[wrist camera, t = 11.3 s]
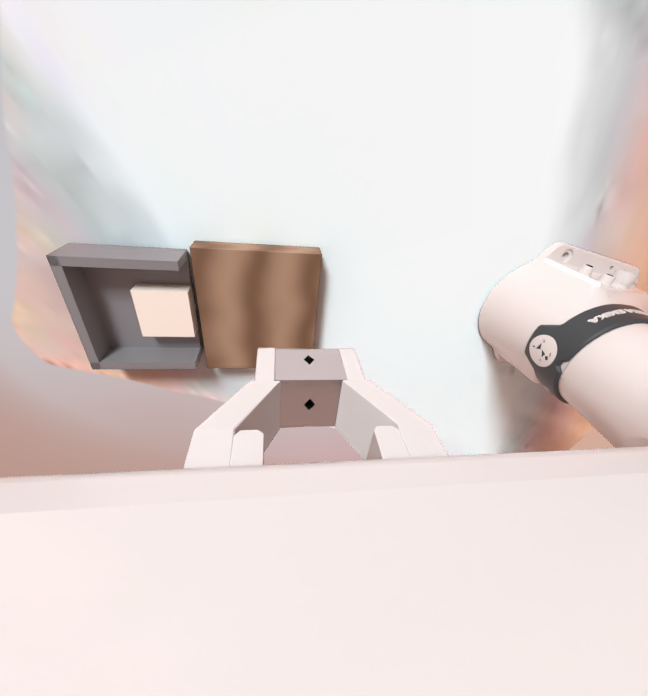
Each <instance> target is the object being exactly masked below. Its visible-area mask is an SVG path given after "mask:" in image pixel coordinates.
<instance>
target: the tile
mask: <svg viewBox="0 0 648 696" xmlns="http://www.w3.org/2000/svg"><path fill="white" fill-rule="evenodd" d="M130 292H131V295H132V299H133V302H134V306H135V310H136V313H137V317H138V321H139V324H140V328H141V331H142V335H143V336H149V337H195V335H196V333H197V330H198V324H197V318H196V311H195V305H194V299H193V292H192V286H191V285H171V284H142V283H137V284H136V285H135V286H134V287H133V288H132V289H131V290H130Z"/></svg>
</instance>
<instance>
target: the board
mask: <svg viewBox="0 0 648 696" xmlns="http://www.w3.org/2000/svg"><path fill="white" fill-rule="evenodd" d="M190 254H191V260H192V267H193V274H194V281H195V287H196V294H197V301H198V308H199V314H200V321H201V328H202V335H203V341H204V348H205V355H206V362H207V368H256V362H257V351H258V348H303V349H313V348H314V336H315V325H316V313H317V302H318V290H319V279H320V268H321V256H322V254H321V251H320V248H316V247H298V246H280V245H262V244H243V243H225V242H207V241H194V242H193V244H192V245H191V247H190Z"/></svg>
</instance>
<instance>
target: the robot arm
mask: <svg viewBox="0 0 648 696" xmlns="http://www.w3.org/2000/svg"><path fill="white" fill-rule="evenodd" d="M564 253H565V254H564ZM563 254H564V255H563ZM638 278H639V269H638V268H636V267H634V266H632V265H630V264H627V263H624V262H621V261H618V260H615V259H612V258H609V257H606V256H603V255H600V254H597V253H594V252H591V251H588V250H585V249H582V248H579V247H576V246H573V245H570V244H567V243H563V242H555V243H553V244H552V245H550V246H549V247H548V248H547V249H545V250H544V251H543V252H542V253H541V254H540V255H539V256H538V257H537V258H535V259H534V260H532V261H531V262H529V263H527V264H525V265H523V266H521V267H519V268H517V269H516V270H514V271H512V272H511V273H510V274H508V275H507V276H506V277H504V278H503V279H502V280H501V281H500V282H499V283H498V284H497V285H496V286H495V287H494V288H493V290H492V291H491V292H490V294H489V295H488V297H487V298H486V300H485V302H484V304H483V306H482V308H481V311H480V315H479V331H480V334H481V336H482V337H483V339H484V340H485V341H486V342H487V343H488V344H490V345H491V346H492V348H493V351H494V355H495V357H496V358H497V359H498V360H499V361H500V362H503V363H505V362H509V363H511V364H512V365H513V366H514V367H515V368H517V369H518V370H519V371H520V372H522V373H523V374H524V375H525V376H527V377H528V378H529V379H530V380H532V381H533V382H535V383H542V384H543V385H544V386H545V388H546V389H547V390H548V391H549V392H550V393H551V394H552V395H554V396H556V397H557V398H558V399H559V400H561V401H562V402H564V403H567V404H570V405H571V406H572V407H573V408H574V409H575V410H576V411H577V412H578V413H579V414H580V415H581V416H583V417H584V418H585V419H586V420H587V421H588V422H589V423H590V424H591V425H592V426H593V427H594V428H595V429H596V430H597V431H598V432H600V433H601V434H602V435H603V436H604V437H605V438H606V439H607V440H608V441H609V442H610V443H611V444H612V445H613V446H614V447H616V448H603V449H585V450H584V449H582V450H561V451H540V452H519V453H499V454H480V455H460V456H448V454H447V453H446V451H445V449H444V447H443V445H442V443H441V441H440V439H439V437H438V435H437V433H436V431H435V430H434V428H433V426H432V424H431V423H430V422H429V421H427V420H426V419H424V418H423V417H421V416H420V415H419V414H417V413H416V412H414V411H413V410H412V409H410V408H409V407H407V406H406V405H405V404H403V403H402V402H400V401H399V400H398V399H396V398H395V397H393V396H392V395H391V394H389V393H388V392H386V391H385V390H384V389H382V388H381V387H379V386H378V385H376V384H375V383H374V382H372V381H371V380H366V379H365V377H364V374H363V371H362V368H361V366H360V363H359V360H358V357H357V355H356V352H355V349H353V348H338V349H303V348H258V351H257V362H256V373H255V381H249V382H248V383H247V384H246V385H245V386H244V387H243V388H241V389H240V390H239V391H238V392H237V393H236V394H235V395H234V396H232V397H231V398H230V399H229V400H228V401H227V402H226V403H225V404H223V405H222V406H221V407H220V408H219V409H218V410H217V411H215V412H214V413H213V414H212V415H211V416H210V417H209V418H208V419H206V421H204V422H203V423H202V424H201V425H200V426H199V427H197V428H196V429H195V430H194V433H193V437H192V440H191V444H190V447H189V451H188V454H187V458H186V462H185V465H184V468H183V469H167V470H147V471H146V470H145V471H127V472H126V471H125V472H104V473H85V474H84V473H83V474H63V475H42V476H23V477H21V476H20V477H0V696H648V293H646V292H644V291H642V290H640V289H638V288H635V287H636V285H637V282H638ZM304 426H335V428H336V429H337V430H338V432H339V433H340V434H341V435H342V436H343V437H344V439H345V440H346V441H347V442H348V443H349V444H350V445H351V447H352V448H353V449H354V450H355V451H356V452H357V453H358V455H359V456H360V457H361V458H362V459H363V460H353V461H332V462H312V463H291V464H273V465H272V464H271V465H264V452H265V450H266V449H267V447H268V446H269V444H270V443H271V441H272V440H273V438H274V437H275V435H276V434H277V432H278V431H279V429H280V428H287V427H304Z"/></svg>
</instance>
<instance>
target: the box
mask: <svg viewBox="0 0 648 696" xmlns="http://www.w3.org/2000/svg"><path fill="white" fill-rule="evenodd" d="M46 257H47V259H48V261H49V264H50V266H51V269H52V271H53V274H54V276H55V279H56V281H57V283H58V286H59V288H60V291H61V293H62V296H63V298H64V301H65V303H66V306H67V308H68V310H69V313H70V315H71V318H72V320H73V323H74V325H75V328H76V330H77V332H78V335H79V337H80V340H81V342H82V345H83V347H84V350H85V352H86V354H87V357H88V359H89V362H90V364H91V367H92V369H196V368H197V365H198V362H199V359H200V356H201V353H202V346H201V339H200V333H199V326H198V330H197V333H196V335H195V337H149V336H143V335H142V331H141V328H140V324H139V321H138V317H137V313H136V310H135V306H134V302H133V299H132V295H131V292H130V290H131V289H132V288H133V287H134V286H135V285H136V284H137V283H142V284H171V285H191V286H192V281H191V274H190V268H189V261H188V255H187V249H171V248H151V247H132V246H112V245H93V244H73V243H68V244H66V245H64V246H63V247H61V248H59V249H57V250H55V251H53V252H52V253H50V254H48V255H46ZM192 292H193V287H192ZM193 299H194V294H193ZM194 305H195V300H194ZM195 311H196V307H195ZM196 318H197V313H196ZM197 324H198V320H197Z"/></svg>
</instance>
